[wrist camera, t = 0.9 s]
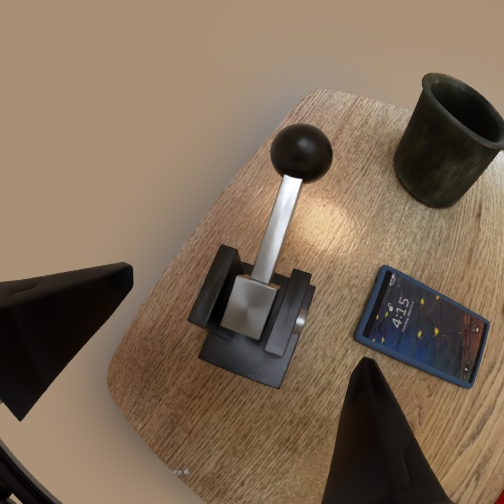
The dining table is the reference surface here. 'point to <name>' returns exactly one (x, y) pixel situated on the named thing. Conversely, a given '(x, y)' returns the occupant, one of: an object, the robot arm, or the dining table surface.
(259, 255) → the lever
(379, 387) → the robot arm
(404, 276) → the smartphone
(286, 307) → the bracket
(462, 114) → the mug
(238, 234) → the dining table surface
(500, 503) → the red flat block
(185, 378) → the dining table surface
